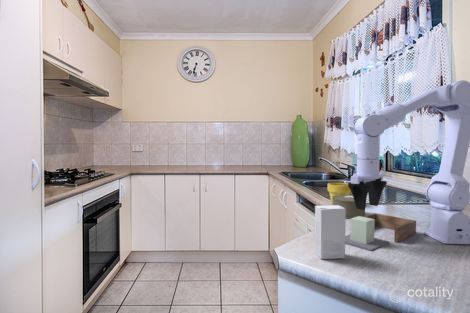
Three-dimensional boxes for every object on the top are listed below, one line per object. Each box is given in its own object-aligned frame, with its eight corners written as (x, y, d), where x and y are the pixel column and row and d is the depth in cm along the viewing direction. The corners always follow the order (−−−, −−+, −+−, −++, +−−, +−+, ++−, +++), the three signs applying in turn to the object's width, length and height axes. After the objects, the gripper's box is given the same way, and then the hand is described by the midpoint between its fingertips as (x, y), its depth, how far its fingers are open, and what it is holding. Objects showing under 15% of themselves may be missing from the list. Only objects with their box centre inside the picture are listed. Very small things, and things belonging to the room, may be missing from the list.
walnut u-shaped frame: (415, 233, 88) (416, 220, 87) (397, 242, 80) (397, 228, 80) (374, 224, 97) (374, 213, 97) (354, 231, 90) (354, 219, 89)
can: (329, 217, 108) (330, 199, 107) (333, 211, 118) (333, 194, 118) (365, 221, 102) (365, 202, 102) (365, 214, 113) (366, 196, 113)
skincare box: (337, 252, 72) (338, 204, 72) (346, 259, 68) (347, 208, 67) (313, 253, 72) (314, 204, 71) (320, 260, 67) (321, 208, 67)
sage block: (374, 240, 80) (374, 219, 80) (366, 244, 77) (366, 221, 77) (358, 236, 83) (359, 216, 83) (350, 239, 81) (350, 218, 80)
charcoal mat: (389, 242, 79) (389, 241, 79) (371, 251, 73) (371, 249, 73) (354, 234, 87) (354, 232, 87) (335, 240, 81) (335, 239, 81)
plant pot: (328, 202, 135) (328, 181, 134) (352, 204, 131) (352, 182, 131) (326, 207, 125) (326, 184, 125) (352, 209, 121) (352, 185, 121)
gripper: (366, 157, 89) (366, 201, 89) (340, 159, 80) (340, 208, 80) (391, 158, 83) (390, 205, 84) (365, 160, 74) (365, 212, 75)
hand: (367, 207), depth 82 cm, fingers open, 7 cm apart
